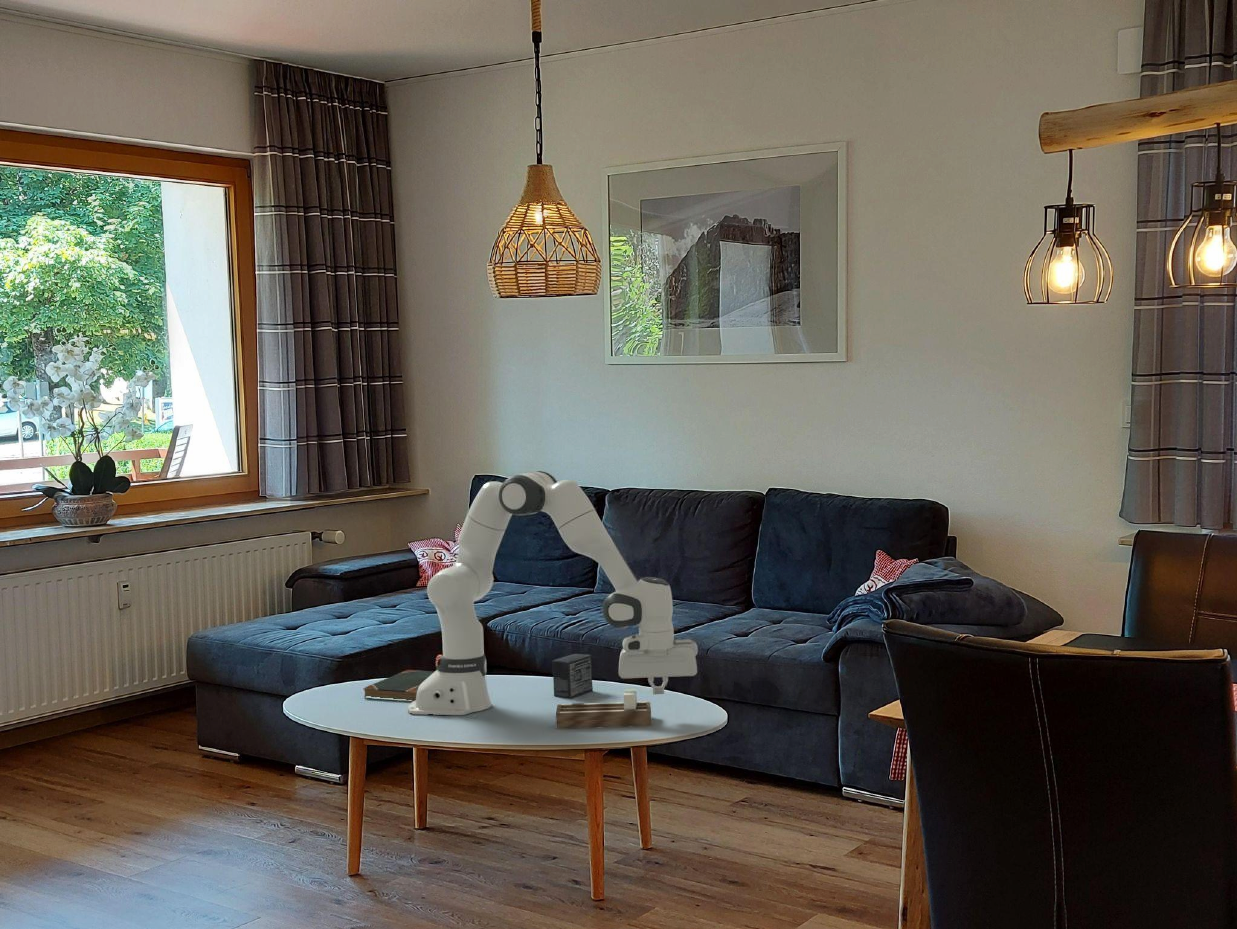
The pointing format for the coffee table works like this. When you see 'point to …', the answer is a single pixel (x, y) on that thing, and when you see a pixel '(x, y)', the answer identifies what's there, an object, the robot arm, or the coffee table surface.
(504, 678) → the coffee table surface
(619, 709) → the wooden shelf rack
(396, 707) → the coffee table surface
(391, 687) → the book
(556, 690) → the small box
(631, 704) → the offwhite block
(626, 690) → the sage tab
